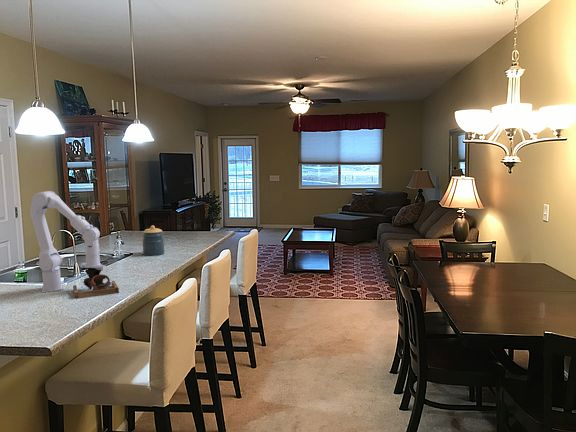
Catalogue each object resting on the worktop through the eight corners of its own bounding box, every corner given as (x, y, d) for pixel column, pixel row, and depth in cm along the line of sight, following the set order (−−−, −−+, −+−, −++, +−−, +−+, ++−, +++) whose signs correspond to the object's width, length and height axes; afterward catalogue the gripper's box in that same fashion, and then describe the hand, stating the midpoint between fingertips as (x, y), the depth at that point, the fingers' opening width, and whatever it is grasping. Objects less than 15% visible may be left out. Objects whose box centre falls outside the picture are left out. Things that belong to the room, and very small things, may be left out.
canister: (159, 256, 290) (158, 227, 288) (139, 255, 292) (137, 226, 290) (168, 252, 303) (166, 224, 301) (148, 251, 305) (147, 223, 303)
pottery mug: (113, 287, 221) (114, 274, 216) (106, 302, 213) (107, 289, 209) (86, 282, 220) (86, 269, 215) (78, 297, 212) (78, 283, 207)
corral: (73, 290, 217) (73, 285, 216) (114, 285, 224) (114, 280, 224) (75, 298, 204) (75, 293, 204) (118, 292, 212) (118, 287, 212)
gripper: (74, 255, 217) (75, 284, 219) (96, 257, 210) (98, 288, 212) (87, 252, 223) (89, 281, 225) (109, 254, 217) (111, 284, 218)
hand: (94, 284), depth 219 cm, fingers closed
